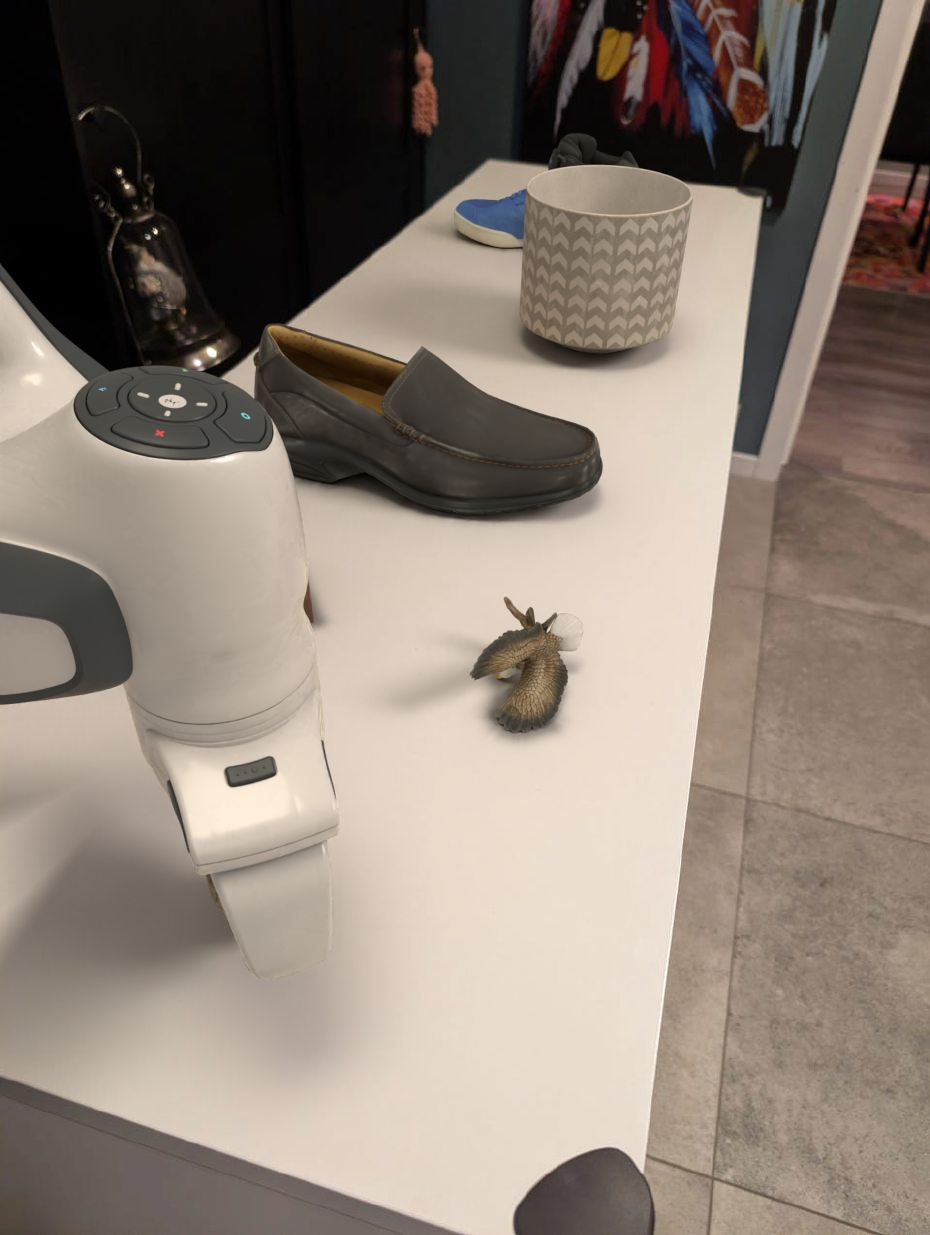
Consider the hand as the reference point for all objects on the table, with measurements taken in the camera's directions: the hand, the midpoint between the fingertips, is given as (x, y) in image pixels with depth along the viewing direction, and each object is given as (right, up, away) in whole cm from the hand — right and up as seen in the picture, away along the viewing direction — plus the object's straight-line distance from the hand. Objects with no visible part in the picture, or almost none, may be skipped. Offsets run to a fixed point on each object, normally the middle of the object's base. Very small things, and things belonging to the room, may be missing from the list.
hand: (260, 870), depth 55 cm
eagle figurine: (+16, +9, +18) cm, 26 cm away
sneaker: (+24, +72, +92) cm, 119 cm away
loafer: (+7, +29, +42) cm, 51 cm away
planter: (+28, +49, +66) cm, 87 cm away
